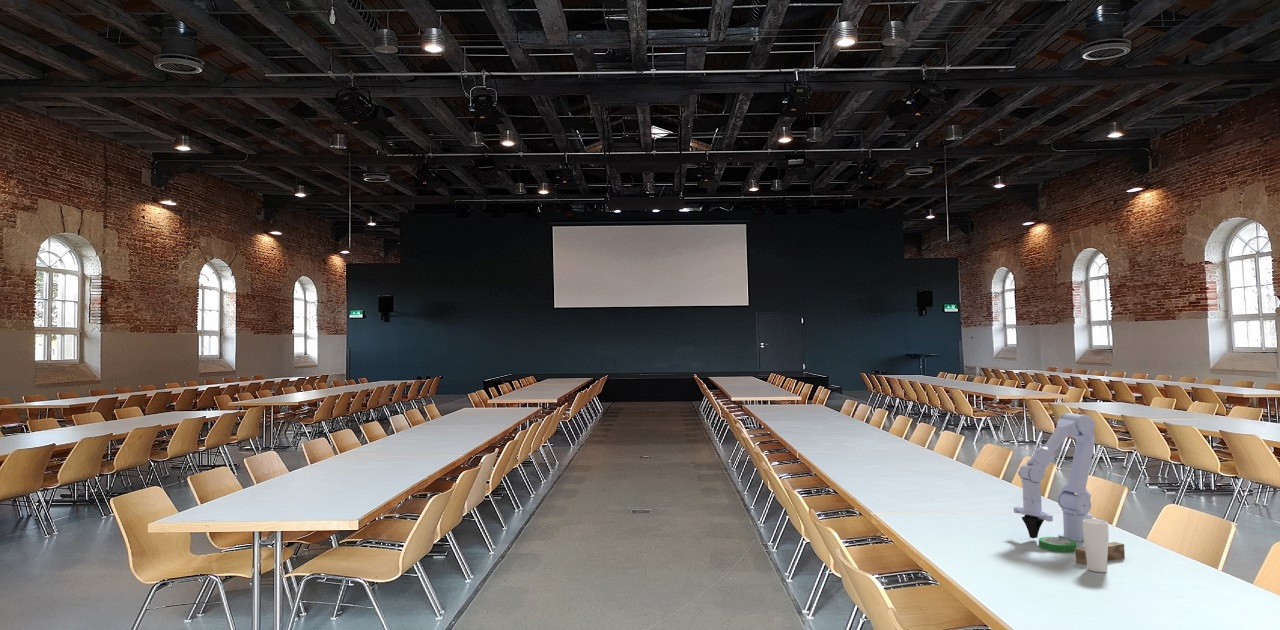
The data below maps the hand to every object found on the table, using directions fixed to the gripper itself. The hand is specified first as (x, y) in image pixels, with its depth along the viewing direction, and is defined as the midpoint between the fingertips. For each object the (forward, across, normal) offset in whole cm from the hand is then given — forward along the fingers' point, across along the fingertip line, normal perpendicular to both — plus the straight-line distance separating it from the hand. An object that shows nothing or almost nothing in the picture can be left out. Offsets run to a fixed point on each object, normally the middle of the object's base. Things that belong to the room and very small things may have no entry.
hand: (1033, 537), depth 255 cm
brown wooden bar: (+1, +25, 0) cm, 25 cm away
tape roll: (+2, +10, 0) cm, 10 cm away
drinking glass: (+1, +32, -10) cm, 33 cm away
